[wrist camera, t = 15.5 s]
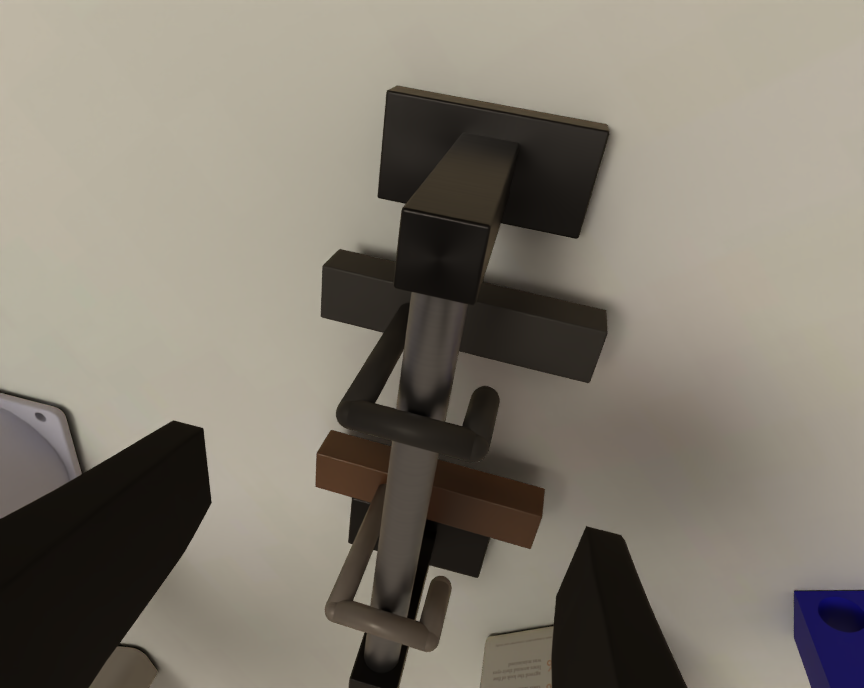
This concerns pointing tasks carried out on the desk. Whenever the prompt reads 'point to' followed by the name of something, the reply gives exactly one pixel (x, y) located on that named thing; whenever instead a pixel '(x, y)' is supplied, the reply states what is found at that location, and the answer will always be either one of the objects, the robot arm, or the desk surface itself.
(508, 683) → the small box
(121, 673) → the power adapter
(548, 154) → the rail stand
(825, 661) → the blue curved cradle bracket
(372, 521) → the walnut hanger
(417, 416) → the black hanger
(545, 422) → the desk surface
